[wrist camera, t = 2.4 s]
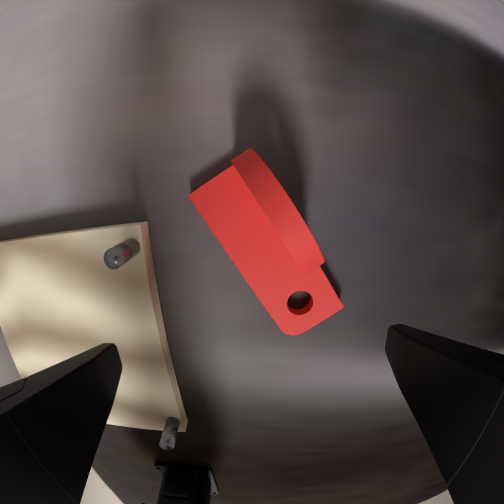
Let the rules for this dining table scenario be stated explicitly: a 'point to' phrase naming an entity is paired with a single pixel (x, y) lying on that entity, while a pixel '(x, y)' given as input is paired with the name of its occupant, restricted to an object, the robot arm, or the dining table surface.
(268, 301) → the bracket
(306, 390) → the dining table surface
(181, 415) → the peg board
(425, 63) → the dining table surface
